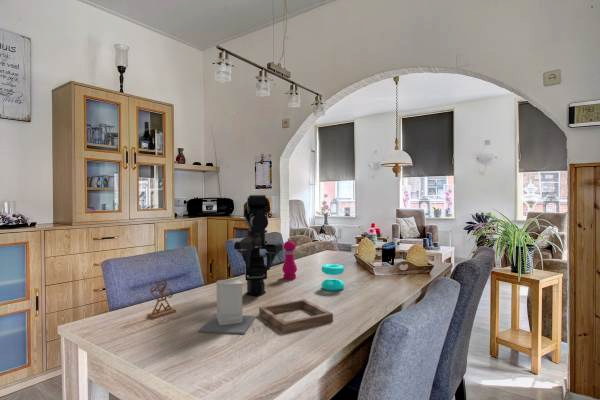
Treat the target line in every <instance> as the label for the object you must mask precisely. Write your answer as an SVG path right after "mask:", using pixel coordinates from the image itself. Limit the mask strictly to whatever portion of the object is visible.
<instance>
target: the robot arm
mask: <svg viewBox="0 0 600 400" xmlns="http://www.w3.org/2000/svg"><path fill="white" fill-rule="evenodd" d="M270 204H271V203H270V200H269V198H268V197H267V196H266V195H265V194H249V196H248V197H247V199H246V202H245V203H244V204H243V210H242V211H243V216H242V217H243V218H244V222H245V224H246V225H247V226H248V231H247V236H245V237H244V238H242V239H241V240H240V241H235V242H234V244H233V250H236V252H237V253H239V254H240V255H241V256H242V259H243V262H244V264H245V266H244V279H245V281H246V291H247V292H245V293H244V295H247V296H254V297H259V296H261V295H264V294H266V292H267V291H266V290H265V289H266V288H265V287H266V286H265V281H264V280H267V279H268V271H270V269H271V268H272V265H273V262H274V260H275V258H276V256H277V254H279V253H280V252H281V251H283V249H284V247H283V245H282V243H281V242H270V243H268V240H266V234H267V233H268V230H267V229H266V228H268V225H269V219H268V218H267V216H266V214H269V213H270V211H271V206H270ZM261 250H265V251H266V252H265V253H264V254H265V256H266V264H265V259H264V256H263V255H261Z"/></svg>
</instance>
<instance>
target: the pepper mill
mask: <svg viewBox="0 0 600 400" xmlns="http://www.w3.org/2000/svg"><path fill="white" fill-rule="evenodd" d="M282 247H283V249H284V251H283V252H284V255H285V259H284V262H283V265H282V268H281V269H282V273H283V277H282V278H283V279H284V280H295V279H296V278H297V275H296V272H297V271H298V267H297V264H296V261H295V258H294V255H295V249H296V247H297V246H296V242H294V241H293V240H292V238H291V237H288V238H287V241H285V242H283V245H282Z"/></svg>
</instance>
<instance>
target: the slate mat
mask: <svg viewBox="0 0 600 400" xmlns="http://www.w3.org/2000/svg"><path fill="white" fill-rule="evenodd" d="M256 318H257V316H256V315H248V314H246V315H244V314H242V323H236V324H229V325H219V323H218V320H217V313H215V314H214V315H213V316H212V317H211V318H210V319H209V320H208V321H206V323H205V324H204V325H202V326H201V327H200V329H198V333H203V334H206V333H207V334H223V335H224V334H225V335H226V334H227V335H228V334H229V335H230V334H231V335H245V334H246V333H247V331H248V329H249V328H250V327H251V326H252V323H254V321H255V320H256Z"/></svg>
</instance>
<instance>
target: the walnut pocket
mask: <svg viewBox="0 0 600 400" xmlns="http://www.w3.org/2000/svg"><path fill="white" fill-rule="evenodd" d="M258 308H259V311H258V315H259V316H260V317H261V318H263V319H265V320H266V321H267V322H269V323H270V324H271V325H273V326H274V327H275V328H276V329H278V330H279V331H280V332H281V333H283V334H284V333H288V332H293V331H297V330H301V329H305V328H308V327H309V328H310V327H315V326H318V325H323V324H327V323H332V322H334V314H333V312H330V311H328V310H327V309H324V308H323V307H320V306H318V305H316V304H315V303H313V302H311V301H308V300H306V299H304V298H303V299H298V300H294V301H293V300H292V301H287V302H282V303H277V304H271V305H265V306H261V307H260V306H259V307H258ZM298 309H299V310H300V309H304V310H306V311H308V312H310V313H311V314H313V315H311V316H306V317H301V318H298V319H292V320H287V321H285V320H284V319H282V318H281V317H279V316H278V315H276V314H279V313H284V312H289V311H293V310H298Z"/></svg>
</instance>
